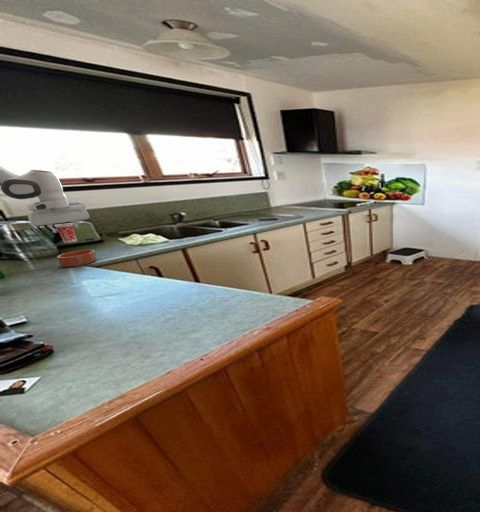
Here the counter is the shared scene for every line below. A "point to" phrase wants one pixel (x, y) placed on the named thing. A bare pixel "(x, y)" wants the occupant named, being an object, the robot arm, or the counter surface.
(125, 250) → the counter surface
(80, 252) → the bowl
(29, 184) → the robot arm
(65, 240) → the beverage cup
